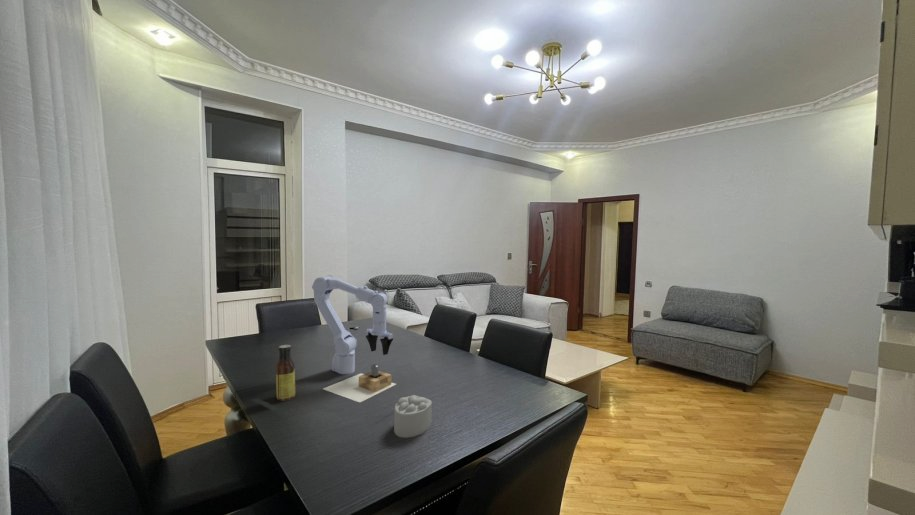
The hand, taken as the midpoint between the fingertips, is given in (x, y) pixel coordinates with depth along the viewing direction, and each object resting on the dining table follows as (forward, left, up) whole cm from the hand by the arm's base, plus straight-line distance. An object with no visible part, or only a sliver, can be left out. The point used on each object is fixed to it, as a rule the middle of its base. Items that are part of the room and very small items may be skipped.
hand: (379, 352), depth 156 cm
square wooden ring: (+8, -10, -9) cm, 16 cm away
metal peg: (+8, -10, -9) cm, 16 cm away
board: (+4, -14, -10) cm, 18 cm away
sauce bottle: (-11, -36, -11) cm, 39 cm away
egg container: (+38, -25, -11) cm, 46 cm away
